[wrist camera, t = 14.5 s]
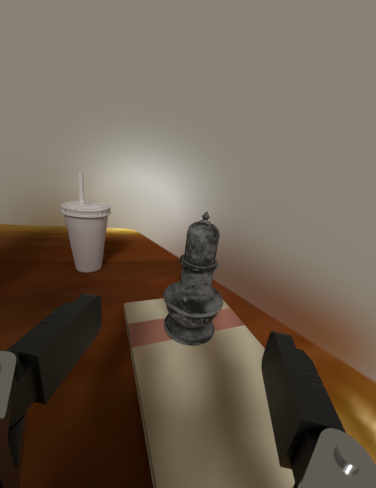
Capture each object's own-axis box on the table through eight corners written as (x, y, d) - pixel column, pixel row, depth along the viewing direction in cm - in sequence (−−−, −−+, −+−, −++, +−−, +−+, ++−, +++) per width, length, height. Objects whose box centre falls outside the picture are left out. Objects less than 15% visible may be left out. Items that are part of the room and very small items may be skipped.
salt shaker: (195, 302, 26) (211, 204, 22) (229, 335, 22) (256, 220, 18) (151, 316, 23) (159, 204, 19) (179, 357, 19) (198, 223, 14)
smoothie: (66, 259, 35) (58, 168, 30) (108, 256, 38) (107, 173, 33) (64, 279, 30) (55, 173, 25) (113, 274, 33) (113, 177, 28)
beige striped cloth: (167, 571, 10) (169, 559, 9) (123, 311, 25) (124, 302, 25) (344, 461, 14) (351, 450, 14) (214, 299, 30) (216, 291, 29)
